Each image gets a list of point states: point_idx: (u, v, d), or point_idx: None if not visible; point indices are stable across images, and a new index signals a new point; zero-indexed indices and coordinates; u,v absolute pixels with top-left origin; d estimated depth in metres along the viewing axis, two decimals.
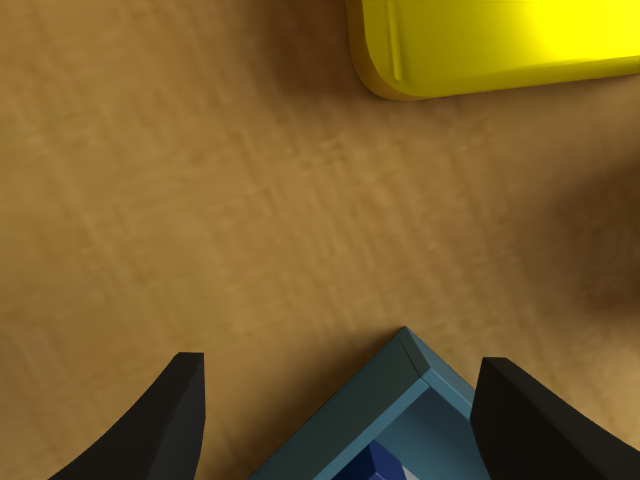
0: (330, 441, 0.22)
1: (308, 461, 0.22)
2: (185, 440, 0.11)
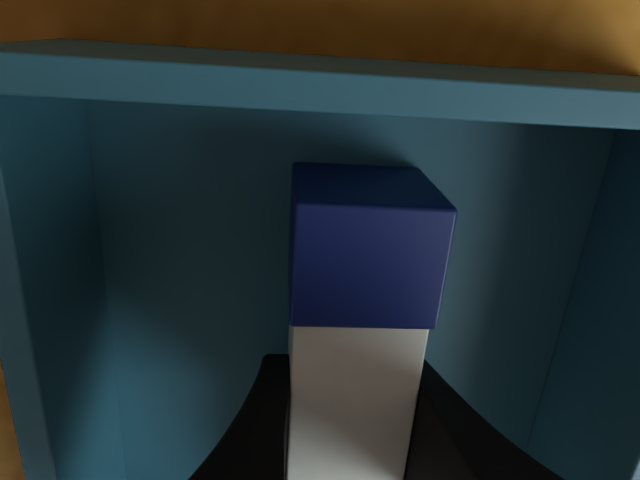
0: (454, 73, 0.09)
1: (372, 68, 0.09)
2: (286, 440, 0.11)
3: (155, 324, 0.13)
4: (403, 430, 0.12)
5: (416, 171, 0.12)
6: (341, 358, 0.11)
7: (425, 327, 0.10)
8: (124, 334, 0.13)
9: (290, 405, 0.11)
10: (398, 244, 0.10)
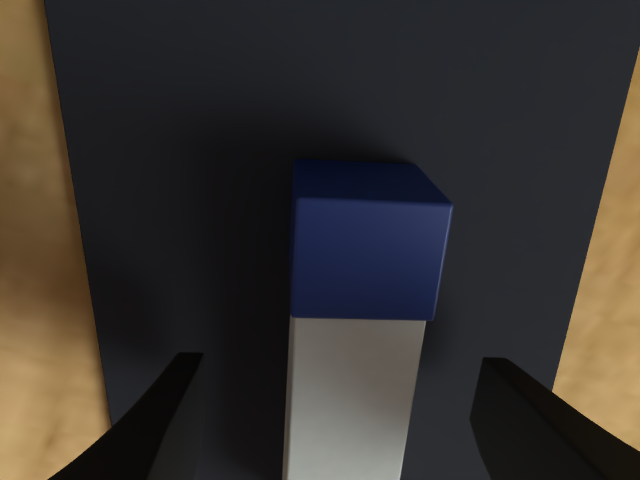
0: None
1: None
2: (185, 440, 0.11)
3: None
4: (401, 420, 0.12)
5: (414, 168, 0.12)
6: (341, 349, 0.11)
7: (422, 319, 0.11)
8: None
9: (291, 395, 0.11)
10: (396, 238, 0.10)
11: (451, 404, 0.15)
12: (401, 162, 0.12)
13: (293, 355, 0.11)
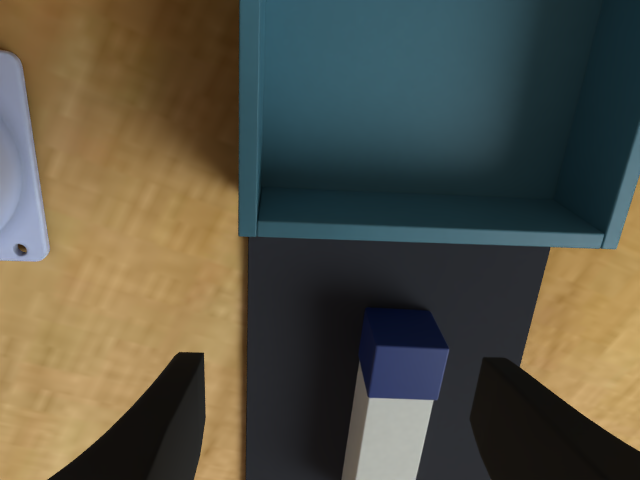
0: None
1: None
2: (185, 440, 0.11)
3: None
4: (418, 447, 0.23)
5: (429, 314, 0.23)
6: (390, 412, 0.22)
7: (432, 399, 0.21)
8: None
9: (362, 434, 0.22)
10: (421, 363, 0.21)
11: (444, 436, 0.26)
12: (422, 309, 0.23)
13: (366, 414, 0.22)
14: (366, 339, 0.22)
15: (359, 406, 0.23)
